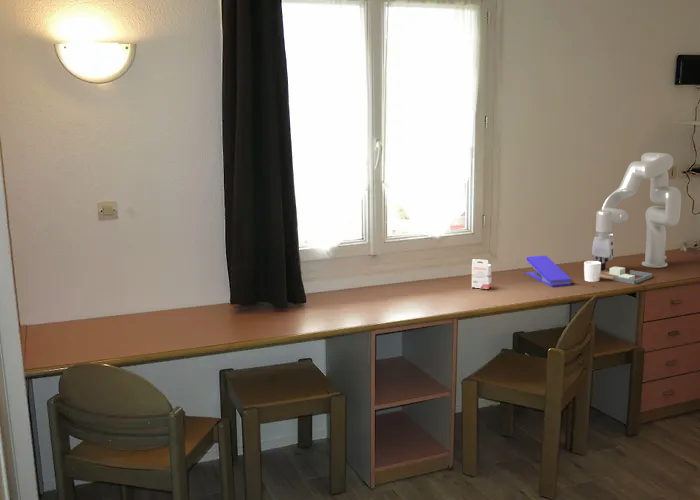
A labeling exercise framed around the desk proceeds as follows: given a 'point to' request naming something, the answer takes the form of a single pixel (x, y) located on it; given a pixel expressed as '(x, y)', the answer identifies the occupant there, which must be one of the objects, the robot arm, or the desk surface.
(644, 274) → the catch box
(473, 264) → the ink cartridge box
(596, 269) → the white cup
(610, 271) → the sage tile
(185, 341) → the desk surface
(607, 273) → the walnut board
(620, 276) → the sage tile
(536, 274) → the stapler
